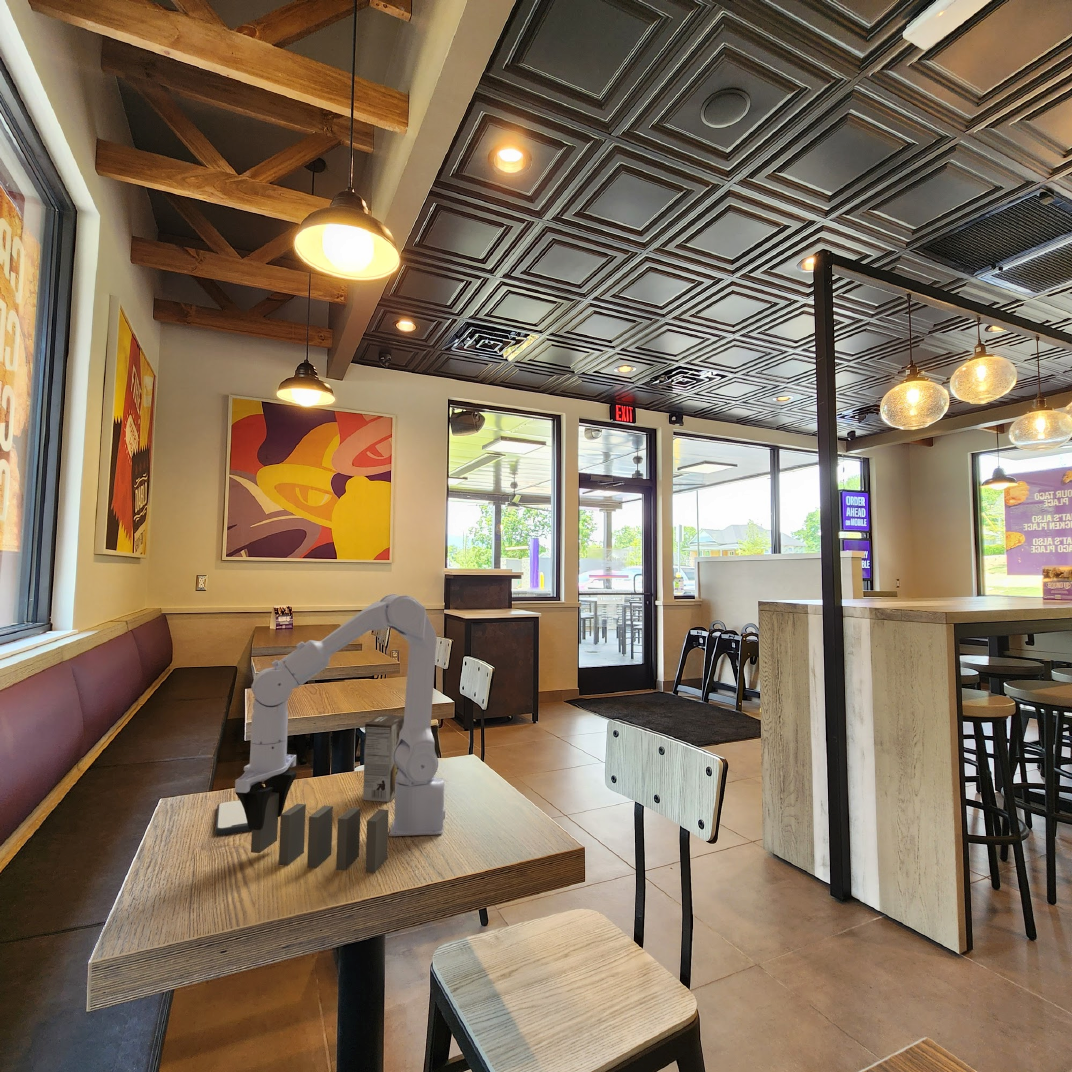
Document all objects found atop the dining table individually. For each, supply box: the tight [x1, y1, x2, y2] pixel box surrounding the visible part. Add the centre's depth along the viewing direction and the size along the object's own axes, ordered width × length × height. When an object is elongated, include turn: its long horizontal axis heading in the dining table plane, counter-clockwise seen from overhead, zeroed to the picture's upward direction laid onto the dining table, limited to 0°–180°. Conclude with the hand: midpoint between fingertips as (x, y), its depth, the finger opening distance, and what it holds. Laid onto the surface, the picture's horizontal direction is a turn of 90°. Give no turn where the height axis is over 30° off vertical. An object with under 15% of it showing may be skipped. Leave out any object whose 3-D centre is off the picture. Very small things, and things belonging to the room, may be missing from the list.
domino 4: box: [364, 808, 389, 874], centre depth 98 cm, size 2×5×8 cm, turn 171°
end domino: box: [250, 792, 279, 854], centre depth 101 cm, size 2×5×8 cm, turn 171°
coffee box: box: [362, 714, 404, 803], centre depth 131 cm, size 9×6×16 cm
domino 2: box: [306, 805, 334, 869], centre depth 99 cm, size 2×5×8 cm, turn 171°
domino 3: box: [335, 806, 361, 872], centre depth 99 cm, size 2×5×8 cm, turn 171°
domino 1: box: [278, 803, 307, 867], centre depth 100 cm, size 2×5×8 cm, turn 171°
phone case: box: [214, 799, 252, 837], centre depth 117 cm, size 9×2×16 cm
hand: (265, 822), depth 101 cm, fingers closed on end domino, 5 cm apart
